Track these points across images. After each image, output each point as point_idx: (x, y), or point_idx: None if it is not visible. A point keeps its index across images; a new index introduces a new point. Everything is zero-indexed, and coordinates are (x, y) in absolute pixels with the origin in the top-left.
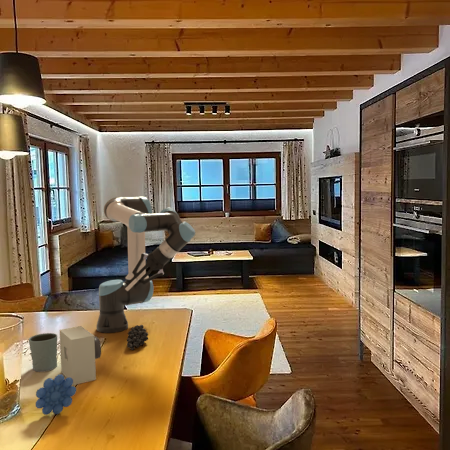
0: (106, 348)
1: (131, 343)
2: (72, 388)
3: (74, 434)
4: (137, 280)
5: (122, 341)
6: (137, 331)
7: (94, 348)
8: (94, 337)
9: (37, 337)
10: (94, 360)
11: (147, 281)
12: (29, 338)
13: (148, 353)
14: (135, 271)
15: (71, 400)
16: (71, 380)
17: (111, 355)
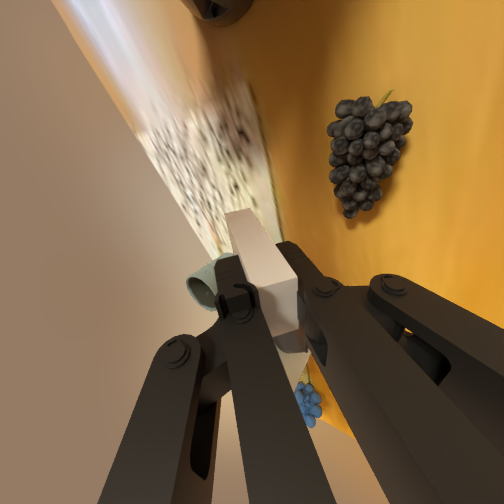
0: (285, 180)
1: (354, 208)
2: (317, 417)
3: (343, 423)
4: (290, 325)
5: (308, 111)
6: (364, 172)
7: (303, 370)
8: (285, 347)
9: (190, 278)
10: (310, 352)
11: (436, 377)
12: (189, 292)
13: (418, 223)
14: (212, 431)
15: (320, 402)
16: (313, 426)
17: (312, 228)
